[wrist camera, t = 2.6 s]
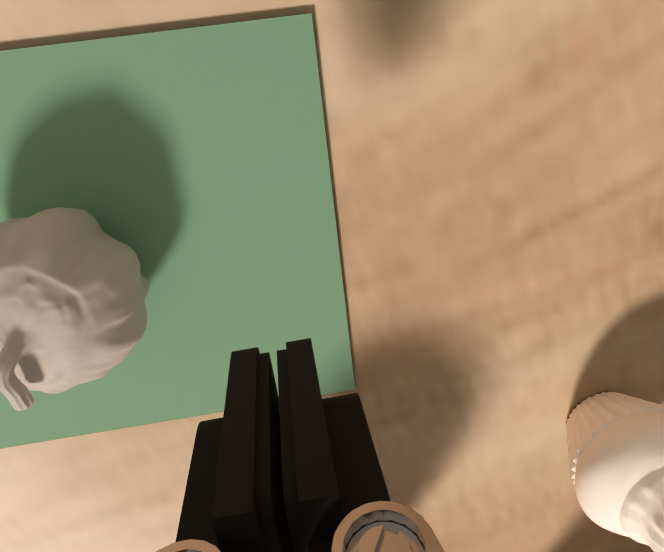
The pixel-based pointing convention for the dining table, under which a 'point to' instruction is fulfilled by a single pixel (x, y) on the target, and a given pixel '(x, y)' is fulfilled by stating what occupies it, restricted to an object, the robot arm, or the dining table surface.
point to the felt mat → (183, 206)
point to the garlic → (64, 303)
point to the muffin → (619, 464)
